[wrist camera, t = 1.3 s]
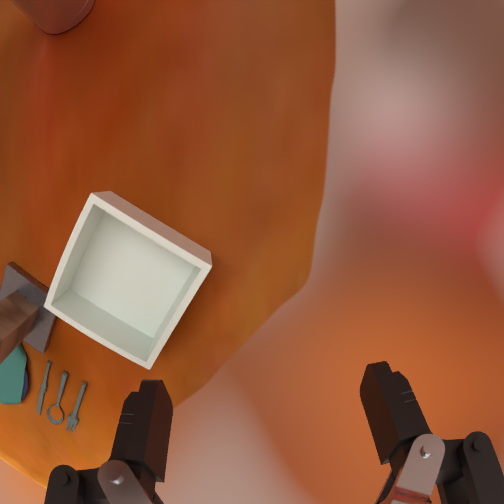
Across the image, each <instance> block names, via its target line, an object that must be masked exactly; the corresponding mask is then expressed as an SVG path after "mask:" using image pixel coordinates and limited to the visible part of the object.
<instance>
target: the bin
mask: <svg viewBox="0 0 504 504" xmlns="http://www.w3.org/2000/svg"><path fill="white" fill-rule="evenodd" d="M211 268H212V260H211V251H209V250H207V249H205V248H204V247H202V246H200V245H199V244H197V243H195V242H194V241H192V240H190V239H189V238H187V237H185V236H184V235H182V234H180V233H179V232H177V231H175V230H174V229H172V228H170V227H169V226H167V225H165V224H164V223H162V222H161V221H159V220H157V219H156V218H154V217H152V216H151V215H149V214H147V213H146V212H144V211H142V210H141V209H139V208H138V207H136V206H134V205H133V204H131V203H129V202H128V201H126V200H125V199H123V198H121V197H120V196H118V195H116V194H115V193H113V192H112V191H105V192H95V193H91V194H90V196H89V198H88V200H87V202H86V204H85V206H84V208H83V210H82V212H81V214H80V216H79V219H78V221H77V223H76V225H75V227H74V229H73V232H72V234H71V236H70V239H69V241H68V243H67V246H66V248H65V250H64V253H63V255H62V258H61V260H60V263H59V265H58V268H57V270H56V273H55V276H54V278H53V281H52V284H51V287H50V289H49V292H48V295H47V298H46V301H45V304H44V307H45V308H46V309H48V310H49V311H50V312H52V313H53V314H55V315H56V316H58V317H59V318H61V319H62V320H64V321H65V322H67V323H68V324H70V325H71V326H73V327H75V328H76V329H78V330H79V331H81V332H83V333H84V334H86V335H87V336H89V337H91V338H92V339H94V340H96V341H97V342H99V343H101V344H102V345H104V346H106V347H108V348H109V349H111V350H113V351H115V352H117V353H118V354H120V355H122V356H124V357H126V358H128V359H129V360H131V361H133V362H135V363H137V364H139V365H141V366H143V367H145V368H147V369H149V370H150V368H151V367H152V365H153V363H154V362H155V360H156V358H157V357H158V355H159V353H160V351H161V350H162V348H163V346H164V345H165V343H166V341H167V340H168V338H169V336H170V335H171V333H172V331H173V330H174V328H175V326H176V325H177V323H178V321H179V320H180V318H181V316H182V315H183V313H184V311H185V310H186V308H187V307H188V305H189V303H190V302H191V300H192V298H193V297H194V295H195V293H196V292H197V290H198V289H199V287H200V285H201V284H202V282H203V280H204V279H205V277H206V276H207V274H208V272H209V271H210V269H211Z"/></svg>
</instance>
